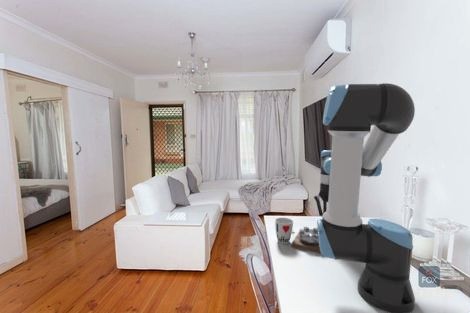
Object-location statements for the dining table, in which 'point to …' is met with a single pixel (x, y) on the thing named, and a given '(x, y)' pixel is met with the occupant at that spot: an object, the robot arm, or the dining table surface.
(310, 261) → the dining table surface
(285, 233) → the cup
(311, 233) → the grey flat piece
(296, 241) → the base board
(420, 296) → the dining table surface
